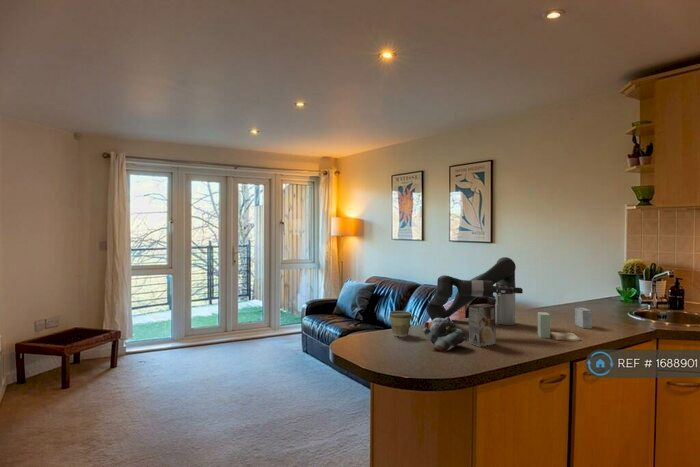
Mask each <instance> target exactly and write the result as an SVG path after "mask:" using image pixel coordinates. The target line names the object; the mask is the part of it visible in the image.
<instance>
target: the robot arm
mask: <svg viewBox="0 0 700 467" xmlns="http://www.w3.org/2000/svg"><path fill="white" fill-rule="evenodd" d="M453 286H454V287H456V289H457V292H456V294H455V296H454V300H453V301H452V303H451V305H450V306H449V307H448V308H447V309H446V307H445V306H444V305H446V304H447V303H448V301H449V300H450V298H452V296H453V291H454V289H453ZM523 292H524V291H523V288H521V287H516V263H515V262H514V260H513V259H511V258H510V257H505V256H504V257H501V258H499V259H498V260H497V261H496V263H495V264H494V265H493V266H492V267H490V268H489V269H488V270H486V271H485V272H483V273H482V274H479V275H477V276H475V277H473V278H471V279H470V280H469V279H464V280H463V279H460V278H457V277H453V276H450V275H445V274H444V275H441V276H439V277H437V286H436V290H435V292H434V295H433V297H432V298H431V300H430V301H429V303H427V305H426V308H425V311H426V313H427V315H428V316H429V318H430V320H431V321H432V320H433V319H435V318H436V317H437V316H441V317H442V318H444V319H445V318H446V317H449V318H450V317H451V316H453V315H454V314H456V312H458V311H459V310H460V309H462V308H464V307H465V306H466V305H467V304H470V303H471V302H473V301H474V300H476V299H477V298H493V296H494V293H495V304H494V306H495V322H496V324H497V325H503V326H504V325H505V326H510V325H511V326H513V325H516V294H521V295H522V294H523Z"/></svg>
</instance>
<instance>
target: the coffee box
mask: <svg viewBox="0 0 700 467" xmlns="http://www.w3.org/2000/svg"><path fill="white" fill-rule="evenodd" d="M496 324H497V323H496V322H495V304H487V303H479V304H470V305H468V344H469V345H472V344H473V345H472V346H475V345H476V347H478V346H479V348H482V347H487V345H488V346H492V345H493V344H494V345H496V343H497V341H496V337H497V335H496V333H497V332H496V329H497V328H496ZM481 346H482V347H481Z"/></svg>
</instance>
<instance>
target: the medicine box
mask: <svg viewBox="0 0 700 467" xmlns="http://www.w3.org/2000/svg"><path fill="white" fill-rule="evenodd" d="M592 315H593V312H592V310H591V309H589V308H586V307H575V308H574V325H575V326H577V327H579V328H581V329H592V328H593V316H592Z"/></svg>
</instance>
